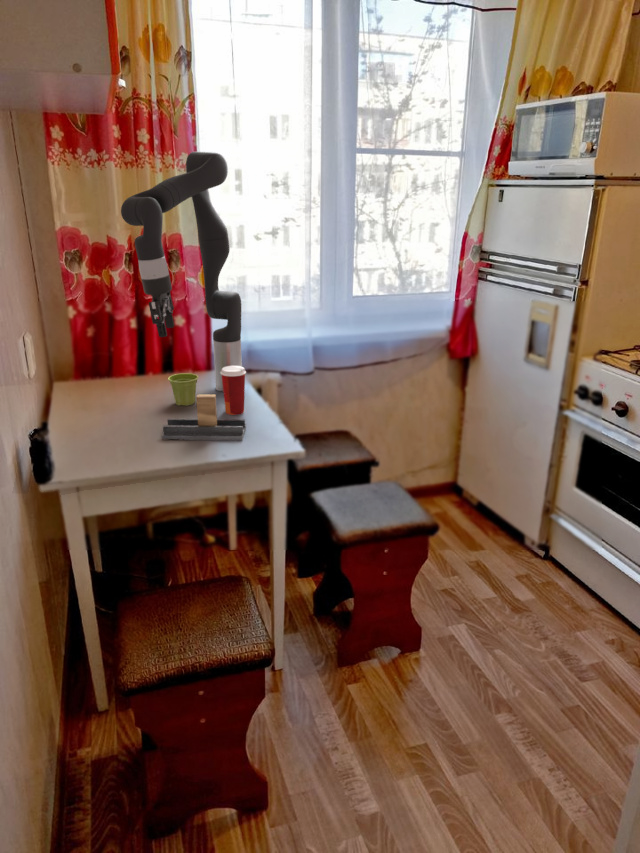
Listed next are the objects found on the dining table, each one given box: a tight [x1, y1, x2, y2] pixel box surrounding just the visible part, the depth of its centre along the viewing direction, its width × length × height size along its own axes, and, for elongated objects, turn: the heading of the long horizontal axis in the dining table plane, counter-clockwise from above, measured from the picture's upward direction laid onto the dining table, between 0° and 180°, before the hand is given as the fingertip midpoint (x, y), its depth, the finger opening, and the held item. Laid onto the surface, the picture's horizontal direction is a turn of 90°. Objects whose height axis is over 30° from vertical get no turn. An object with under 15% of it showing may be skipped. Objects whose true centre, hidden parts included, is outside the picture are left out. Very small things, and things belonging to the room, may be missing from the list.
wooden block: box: [195, 394, 218, 426], centre depth 171 cm, size 2×5×10 cm, turn 93°
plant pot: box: [167, 372, 199, 407], centre depth 196 cm, size 9×9×9 cm
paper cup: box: [220, 366, 247, 416], centre depth 187 cm, size 8×8×14 cm
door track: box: [161, 418, 247, 441], centre depth 172 cm, size 10×22×3 cm, turn 90°
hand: (167, 331), depth 174 cm, fingers open, 8 cm apart
